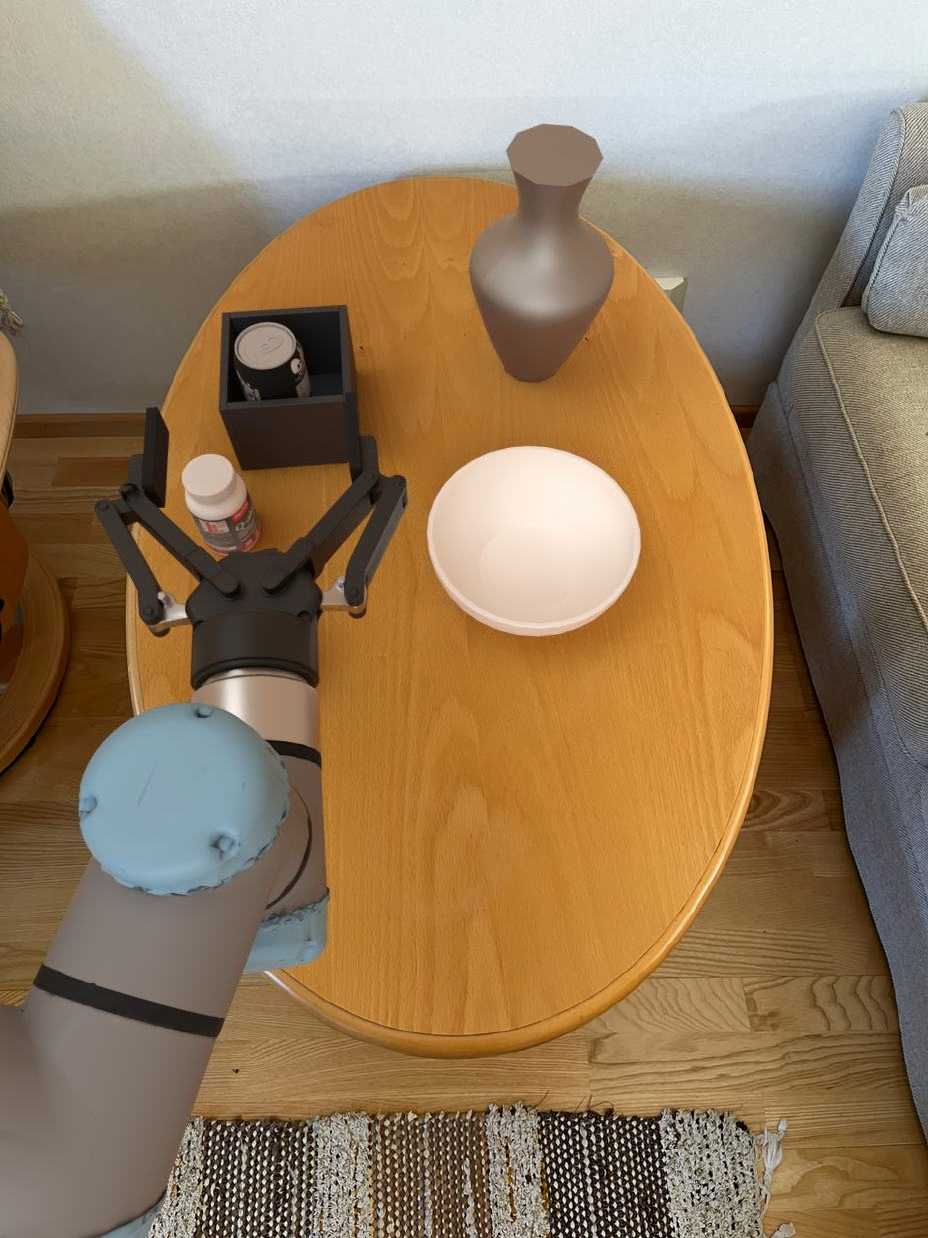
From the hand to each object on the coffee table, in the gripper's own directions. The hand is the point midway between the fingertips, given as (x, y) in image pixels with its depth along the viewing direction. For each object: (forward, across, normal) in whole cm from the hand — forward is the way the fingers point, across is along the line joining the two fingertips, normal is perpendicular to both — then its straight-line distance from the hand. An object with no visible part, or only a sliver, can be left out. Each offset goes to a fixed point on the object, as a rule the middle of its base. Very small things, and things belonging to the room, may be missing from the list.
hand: (255, 411), depth 59 cm
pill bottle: (+7, -8, -26) cm, 27 cm away
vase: (+26, +26, -25) cm, 45 cm away
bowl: (-1, +21, -25) cm, 33 cm away
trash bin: (+20, 0, -25) cm, 33 cm away
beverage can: (+19, -2, -25) cm, 31 cm away
